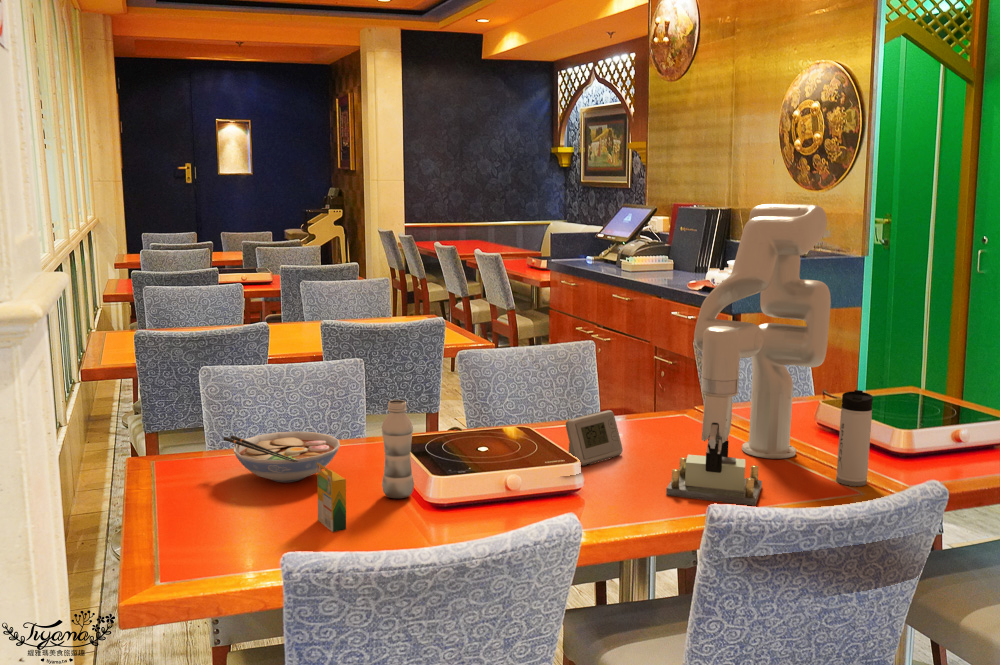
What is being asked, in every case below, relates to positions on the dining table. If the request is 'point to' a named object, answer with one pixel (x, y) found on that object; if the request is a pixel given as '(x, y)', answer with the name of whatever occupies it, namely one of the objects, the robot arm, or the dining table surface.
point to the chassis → (715, 494)
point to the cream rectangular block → (727, 479)
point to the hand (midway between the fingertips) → (716, 464)
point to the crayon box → (331, 499)
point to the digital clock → (594, 437)
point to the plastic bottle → (397, 451)
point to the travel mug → (854, 438)
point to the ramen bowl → (285, 454)
